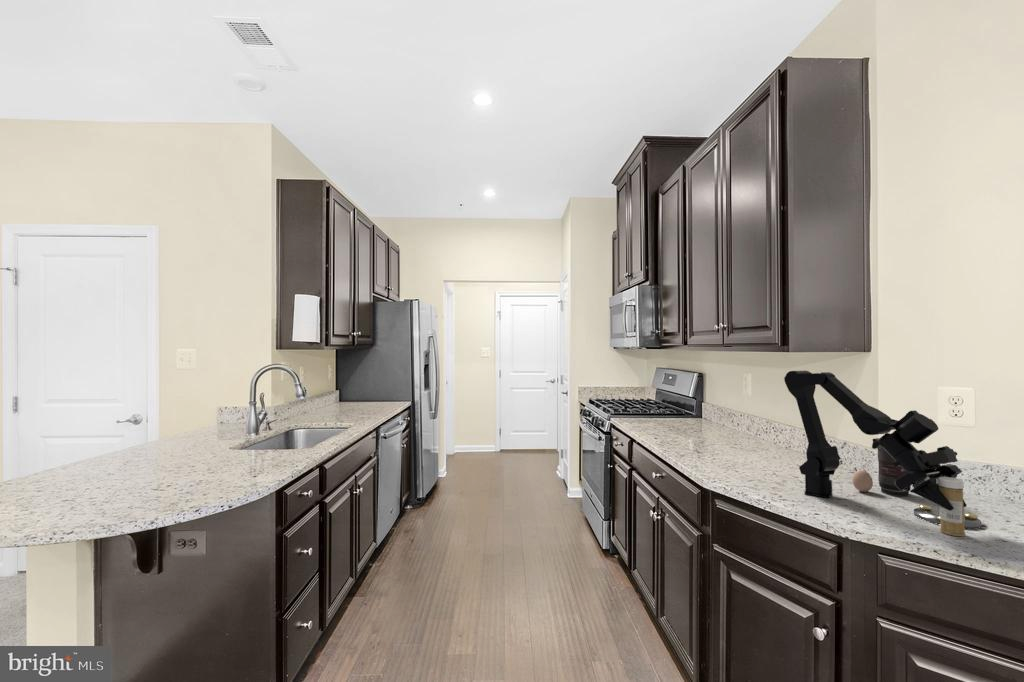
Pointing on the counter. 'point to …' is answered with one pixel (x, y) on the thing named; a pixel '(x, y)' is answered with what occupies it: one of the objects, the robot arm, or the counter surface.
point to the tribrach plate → (934, 516)
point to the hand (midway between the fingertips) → (958, 508)
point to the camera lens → (889, 474)
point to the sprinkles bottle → (955, 518)
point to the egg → (862, 481)
